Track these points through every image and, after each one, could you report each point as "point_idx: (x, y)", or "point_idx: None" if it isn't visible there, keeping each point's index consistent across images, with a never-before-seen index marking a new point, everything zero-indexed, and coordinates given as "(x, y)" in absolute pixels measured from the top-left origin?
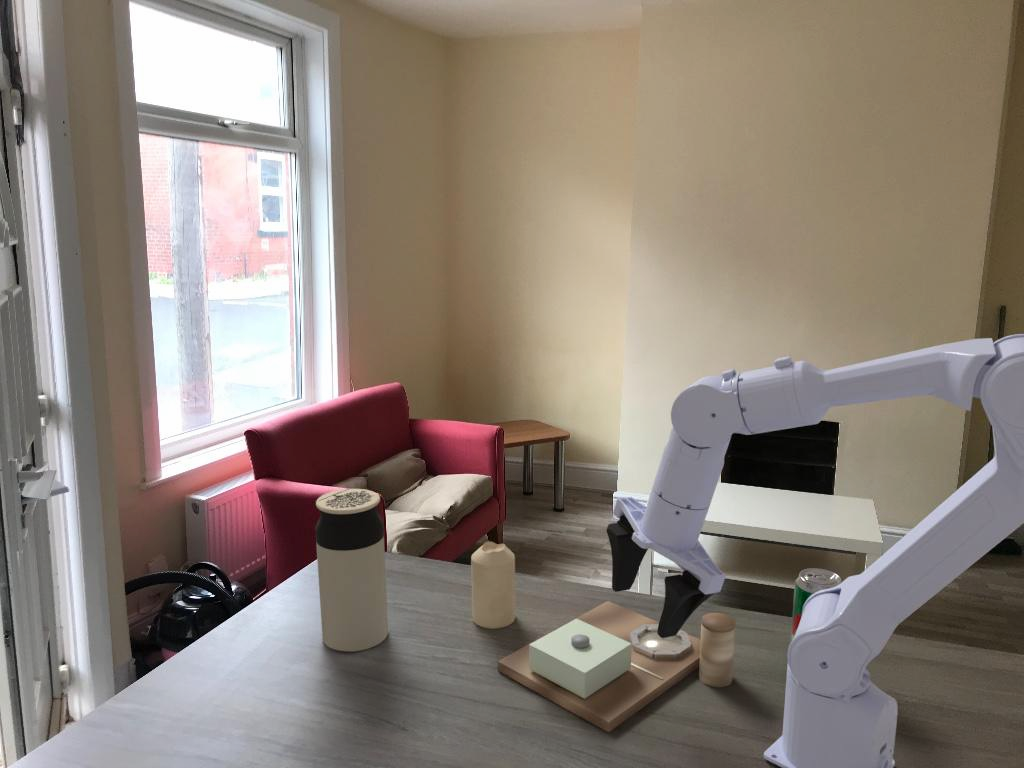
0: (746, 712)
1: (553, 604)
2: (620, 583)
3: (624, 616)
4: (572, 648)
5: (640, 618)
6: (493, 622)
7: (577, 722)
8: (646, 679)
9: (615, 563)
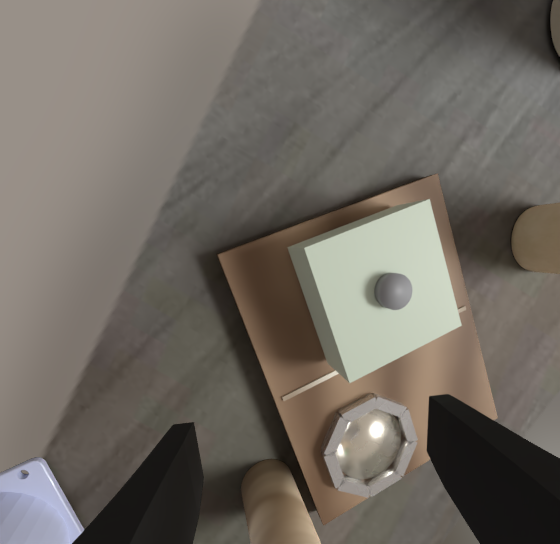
0: None
1: (527, 339)
2: (448, 431)
3: None
4: (384, 268)
5: None
6: (525, 223)
7: (261, 222)
8: (293, 373)
9: (547, 470)
